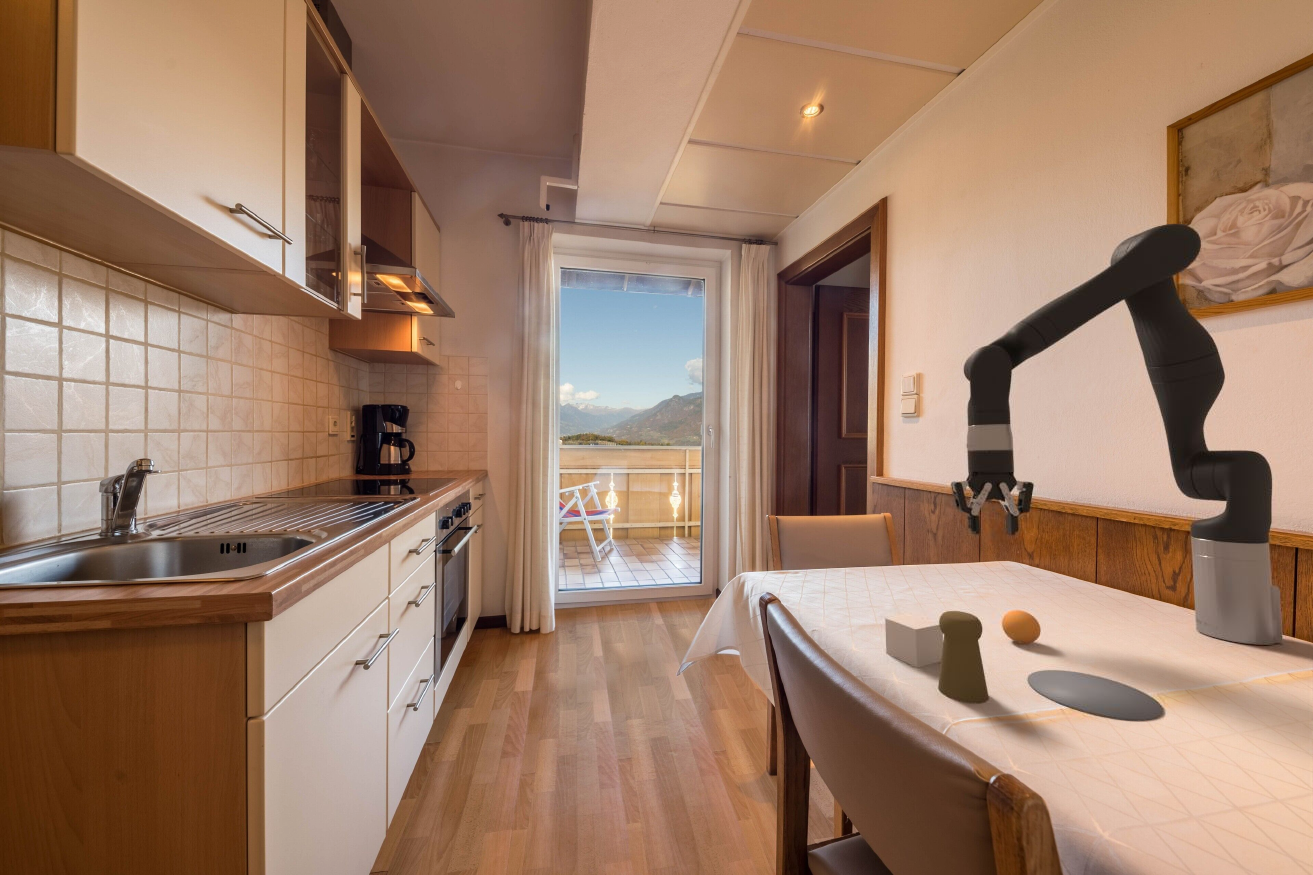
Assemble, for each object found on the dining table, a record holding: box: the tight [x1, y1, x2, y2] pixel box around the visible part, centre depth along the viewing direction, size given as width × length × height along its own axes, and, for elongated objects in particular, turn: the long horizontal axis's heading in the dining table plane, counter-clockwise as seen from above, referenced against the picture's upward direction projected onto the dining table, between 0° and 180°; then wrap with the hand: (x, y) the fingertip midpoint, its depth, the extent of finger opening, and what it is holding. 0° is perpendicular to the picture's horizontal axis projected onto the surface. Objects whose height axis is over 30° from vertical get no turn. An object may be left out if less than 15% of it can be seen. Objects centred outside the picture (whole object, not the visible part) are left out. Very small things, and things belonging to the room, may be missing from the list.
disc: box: [1027, 669, 1164, 721], centre depth 68 cm, size 14×14×1 cm
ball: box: [1001, 609, 1041, 644], centre depth 87 cm, size 6×6×6 cm
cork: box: [937, 610, 990, 704], centre depth 69 cm, size 6×6×11 cm
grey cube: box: [884, 613, 944, 668], centre depth 82 cm, size 6×6×6 cm
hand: (993, 534), depth 97 cm, fingers open, 5 cm apart
